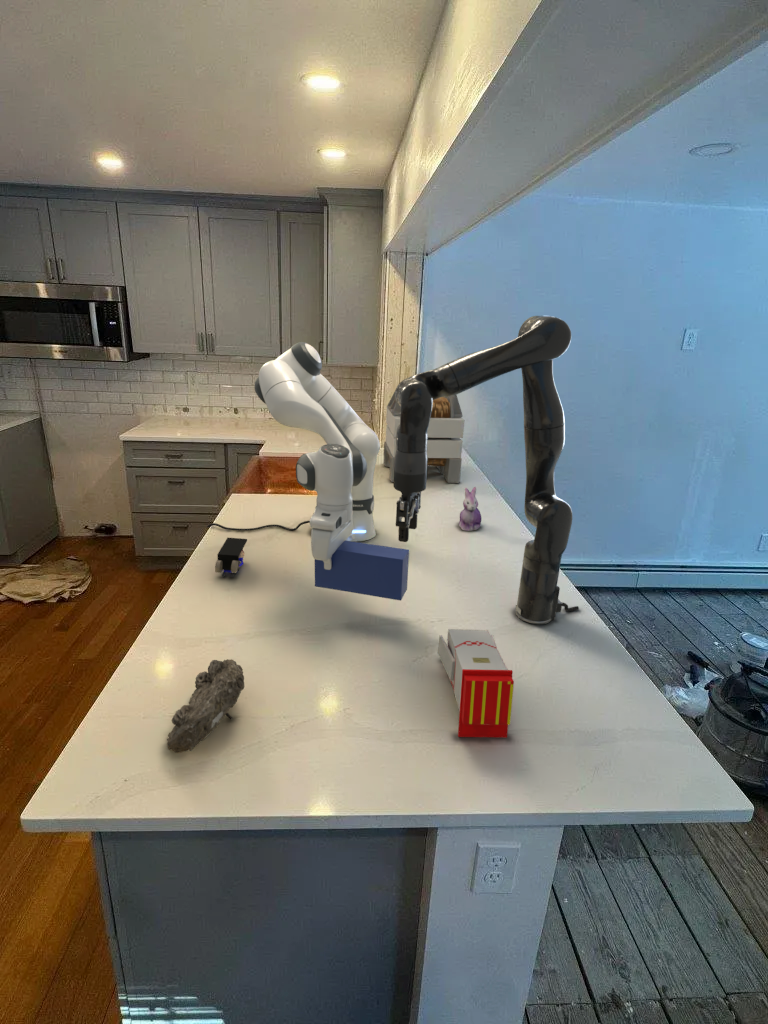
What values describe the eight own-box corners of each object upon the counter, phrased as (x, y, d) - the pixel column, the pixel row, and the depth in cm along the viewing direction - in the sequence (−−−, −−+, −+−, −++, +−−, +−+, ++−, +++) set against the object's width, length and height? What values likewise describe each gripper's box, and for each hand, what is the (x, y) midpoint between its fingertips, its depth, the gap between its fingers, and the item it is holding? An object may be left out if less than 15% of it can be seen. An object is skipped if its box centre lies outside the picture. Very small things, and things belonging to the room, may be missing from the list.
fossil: (192, 660, 117) (244, 628, 112) (224, 691, 120) (276, 661, 115) (142, 746, 98) (202, 712, 93) (182, 779, 101) (242, 748, 96)
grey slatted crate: (382, 463, 289) (386, 382, 275) (445, 464, 293) (451, 384, 279) (390, 482, 257) (394, 392, 243) (460, 483, 261) (468, 394, 247)
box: (314, 586, 144) (314, 546, 140) (323, 575, 150) (323, 537, 146) (401, 600, 139) (403, 559, 135) (407, 589, 144) (409, 549, 141)
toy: (488, 613, 130) (523, 677, 101) (484, 667, 133) (517, 744, 104) (435, 612, 130) (455, 676, 101) (432, 666, 133) (451, 743, 103)
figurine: (467, 533, 203) (471, 493, 198) (451, 523, 211) (454, 485, 206) (488, 529, 207) (492, 490, 202) (471, 520, 215) (475, 482, 210)
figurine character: (238, 584, 162) (249, 557, 175) (236, 562, 158) (247, 536, 172) (215, 584, 161) (227, 556, 175) (212, 561, 158) (225, 535, 171)
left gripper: (337, 497, 149) (336, 545, 154) (306, 523, 131) (306, 577, 136) (359, 500, 148) (358, 548, 153) (331, 527, 129) (331, 581, 134)
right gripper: (419, 479, 122) (416, 548, 127) (433, 462, 134) (429, 526, 140) (385, 475, 123) (384, 543, 129) (402, 459, 136) (400, 522, 142)
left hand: (333, 562), depth 144 cm, fingers closed on box, 6 cm apart
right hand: (407, 534), depth 135 cm, fingers open, 8 cm apart
